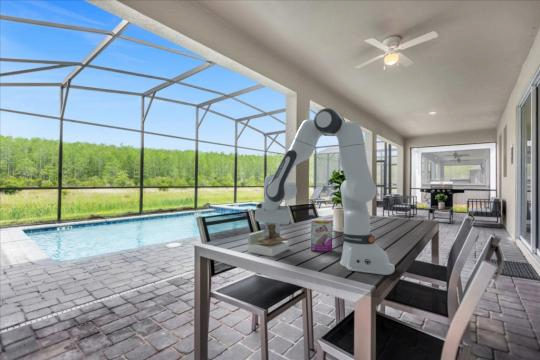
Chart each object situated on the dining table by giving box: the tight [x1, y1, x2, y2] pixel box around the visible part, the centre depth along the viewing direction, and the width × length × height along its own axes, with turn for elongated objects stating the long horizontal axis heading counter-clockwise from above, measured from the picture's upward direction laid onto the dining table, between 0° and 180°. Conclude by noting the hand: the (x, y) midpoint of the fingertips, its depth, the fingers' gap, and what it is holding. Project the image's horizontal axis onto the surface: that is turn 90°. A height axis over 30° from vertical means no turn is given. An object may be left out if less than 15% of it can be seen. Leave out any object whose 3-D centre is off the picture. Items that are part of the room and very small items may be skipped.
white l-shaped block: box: [247, 230, 290, 257], centre depth 140 cm, size 15×17×9 cm
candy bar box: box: [310, 218, 334, 253], centre depth 141 cm, size 11×5×16 cm, turn 84°
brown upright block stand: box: [256, 223, 288, 245], centre depth 139 cm, size 9×14×8 cm, turn 138°
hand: (271, 231), depth 139 cm, fingers closed on brown upright block stand, 3 cm apart
